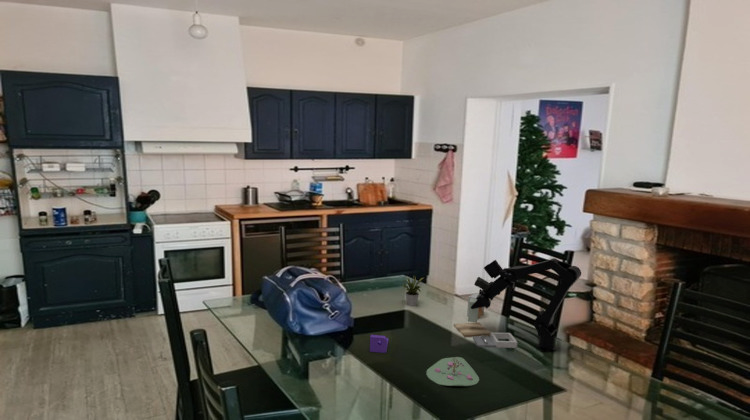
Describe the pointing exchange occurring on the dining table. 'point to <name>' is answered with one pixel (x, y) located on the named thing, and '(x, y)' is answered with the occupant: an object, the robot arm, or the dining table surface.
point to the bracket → (378, 343)
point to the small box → (481, 309)
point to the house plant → (412, 292)
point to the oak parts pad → (472, 329)
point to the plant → (452, 372)
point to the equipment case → (494, 342)
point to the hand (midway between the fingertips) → (471, 306)
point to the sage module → (472, 311)
